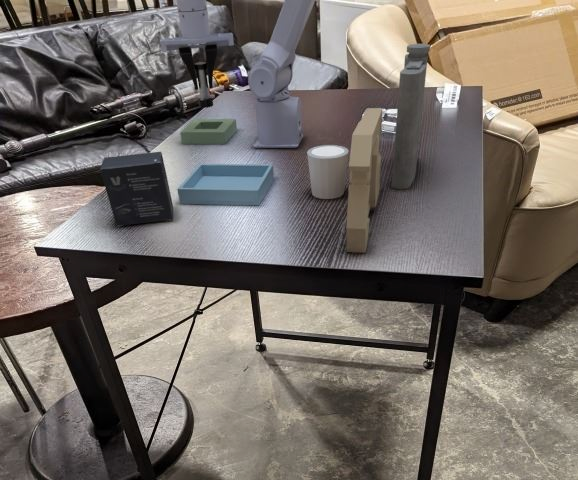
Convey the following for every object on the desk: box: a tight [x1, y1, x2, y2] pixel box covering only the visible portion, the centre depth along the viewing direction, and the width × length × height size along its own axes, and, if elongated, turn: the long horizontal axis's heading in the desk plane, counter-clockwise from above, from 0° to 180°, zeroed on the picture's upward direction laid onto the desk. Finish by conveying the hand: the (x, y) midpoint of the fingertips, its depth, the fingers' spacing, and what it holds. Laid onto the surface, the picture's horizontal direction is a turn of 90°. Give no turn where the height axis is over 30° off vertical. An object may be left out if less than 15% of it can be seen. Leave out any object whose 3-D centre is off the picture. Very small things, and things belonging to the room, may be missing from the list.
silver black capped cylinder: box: [194, 61, 216, 109], centre depth 111 cm, size 4×4×8 cm
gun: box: [346, 107, 383, 254], centre depth 78 cm, size 24×3×15 cm, turn 168°
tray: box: [176, 163, 275, 206], centre depth 94 cm, size 14×12×3 cm
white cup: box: [306, 144, 350, 200], centre depth 89 cm, size 7×7×7 cm
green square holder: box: [180, 118, 238, 145], centre depth 118 cm, size 10×10×2 cm
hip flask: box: [391, 43, 431, 190], centre depth 90 cm, size 16×4×20 cm, turn 167°
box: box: [99, 151, 174, 228], centre depth 84 cm, size 9×6×10 cm, turn 99°
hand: (203, 88), depth 111 cm, fingers closed on silver black capped cylinder, 2 cm apart
